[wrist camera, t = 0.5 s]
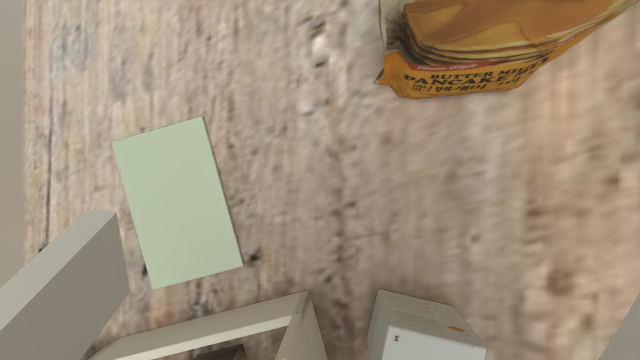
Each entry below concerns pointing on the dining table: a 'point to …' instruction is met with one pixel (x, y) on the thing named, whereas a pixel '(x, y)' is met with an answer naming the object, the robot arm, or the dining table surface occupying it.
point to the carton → (230, 332)
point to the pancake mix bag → (480, 41)
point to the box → (224, 354)
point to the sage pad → (178, 203)
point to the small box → (419, 331)
